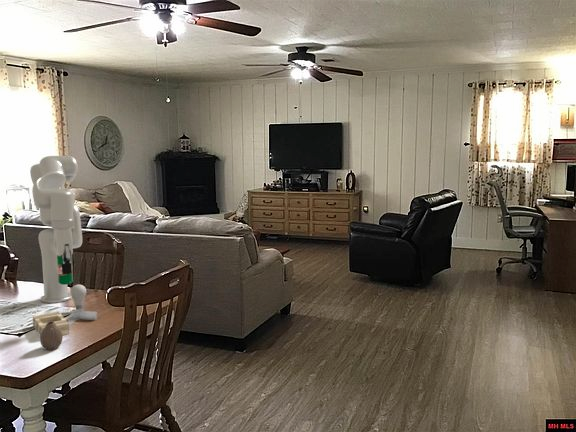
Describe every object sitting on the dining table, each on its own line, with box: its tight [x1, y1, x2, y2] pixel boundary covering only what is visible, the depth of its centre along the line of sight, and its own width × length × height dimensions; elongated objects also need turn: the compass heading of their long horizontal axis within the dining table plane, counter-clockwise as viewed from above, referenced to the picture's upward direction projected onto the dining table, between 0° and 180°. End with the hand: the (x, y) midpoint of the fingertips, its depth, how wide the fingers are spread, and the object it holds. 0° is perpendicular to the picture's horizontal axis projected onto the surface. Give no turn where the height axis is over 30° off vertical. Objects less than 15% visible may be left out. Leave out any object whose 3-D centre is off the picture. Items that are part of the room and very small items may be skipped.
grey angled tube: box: [65, 308, 98, 326], centre depth 199 cm, size 8×12×3 cm
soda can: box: [57, 254, 74, 285], centre depth 190 cm, size 5×5×12 cm
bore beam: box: [32, 311, 70, 336], centre depth 188 cm, size 16×9×4 cm, turn 37°
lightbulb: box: [69, 284, 87, 310], centre depth 210 cm, size 6×6×11 cm
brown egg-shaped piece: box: [39, 322, 64, 351], centre depth 171 cm, size 7×7×9 cm
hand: (65, 271), depth 190 cm, fingers closed on soda can, 5 cm apart
